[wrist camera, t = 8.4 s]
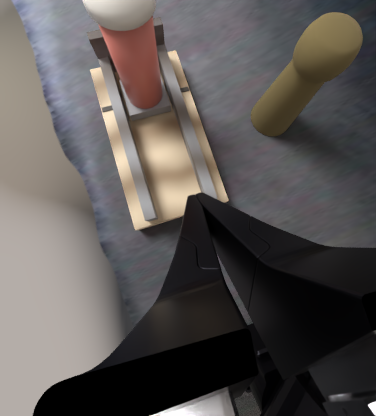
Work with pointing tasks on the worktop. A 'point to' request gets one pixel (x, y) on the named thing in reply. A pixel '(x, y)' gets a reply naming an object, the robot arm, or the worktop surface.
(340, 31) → the cork
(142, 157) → the plug rig
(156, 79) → the red plug
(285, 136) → the worktop surface
